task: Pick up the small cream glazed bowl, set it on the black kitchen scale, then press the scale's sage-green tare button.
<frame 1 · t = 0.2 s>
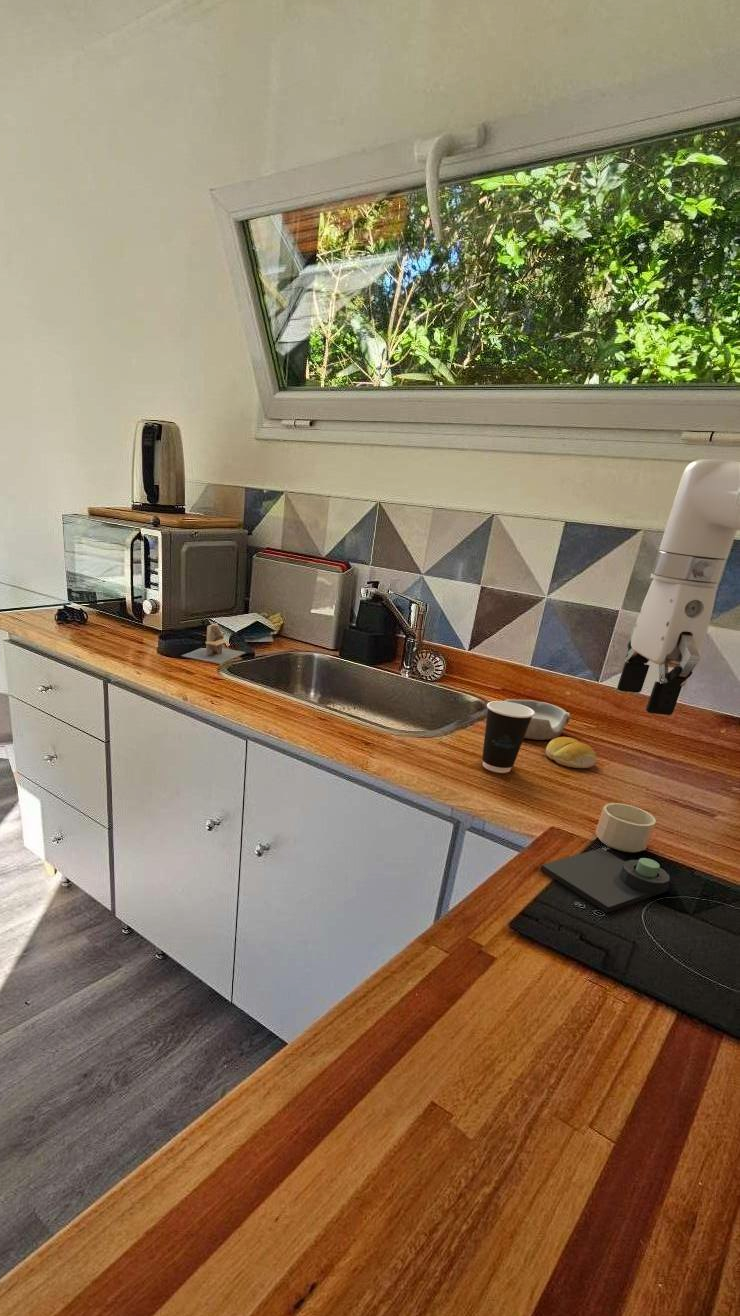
hand: (642, 701, 90), 20 cm above the worktop, tool pointing down, fingers open, 9 cm apart
bowl: (619, 842, 95), on the worktop
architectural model: (214, 654, 172), on the worktop
tare button: (647, 868, 83), point 3 cm above the worktop, slide at 0.2 cm
bread roll: (568, 761, 124), on the worktop
dish: (525, 731, 138), on the worktop
scale: (602, 881, 85), on the worktop
dixie cup: (496, 768, 118), on the worktop
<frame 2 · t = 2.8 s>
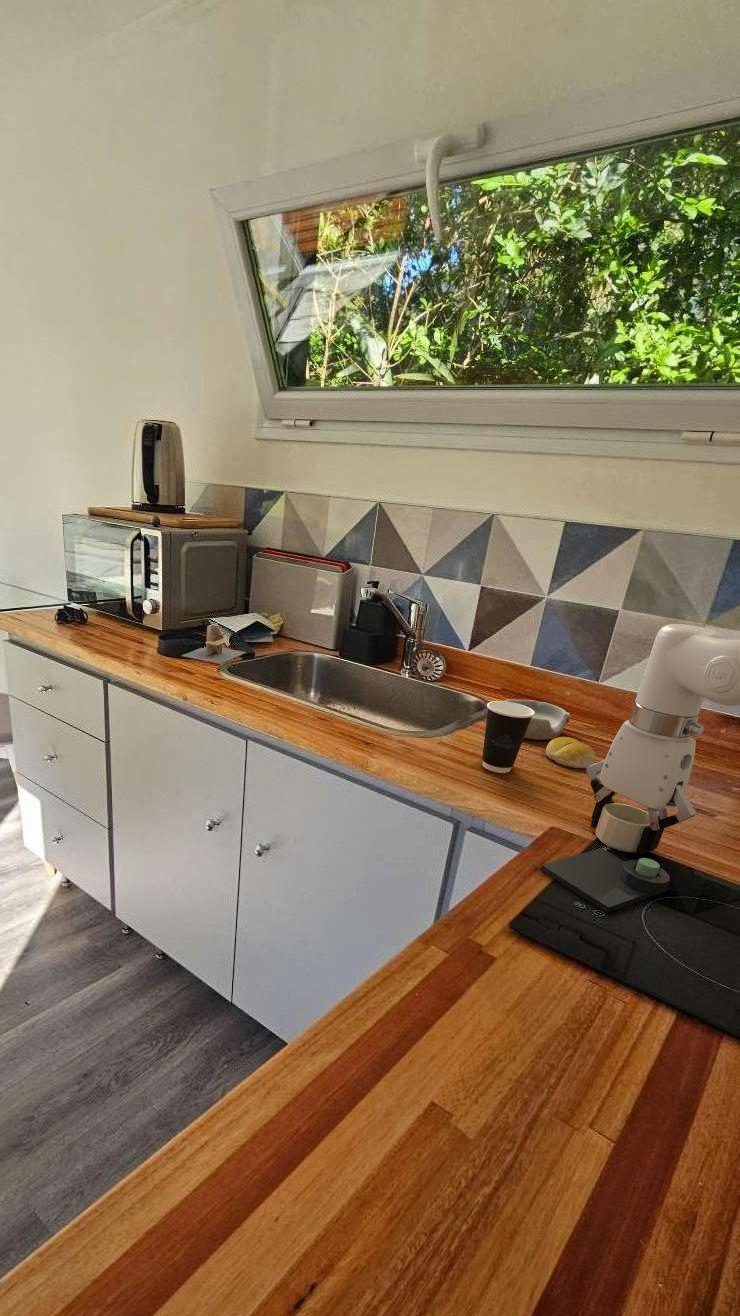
hand: (621, 837, 95), 1 cm above the worktop, tool pointing down, fingers closed on bowl, 6 cm apart
bowl: (619, 842, 95), on the worktop, touching gripper
everything else where it was.
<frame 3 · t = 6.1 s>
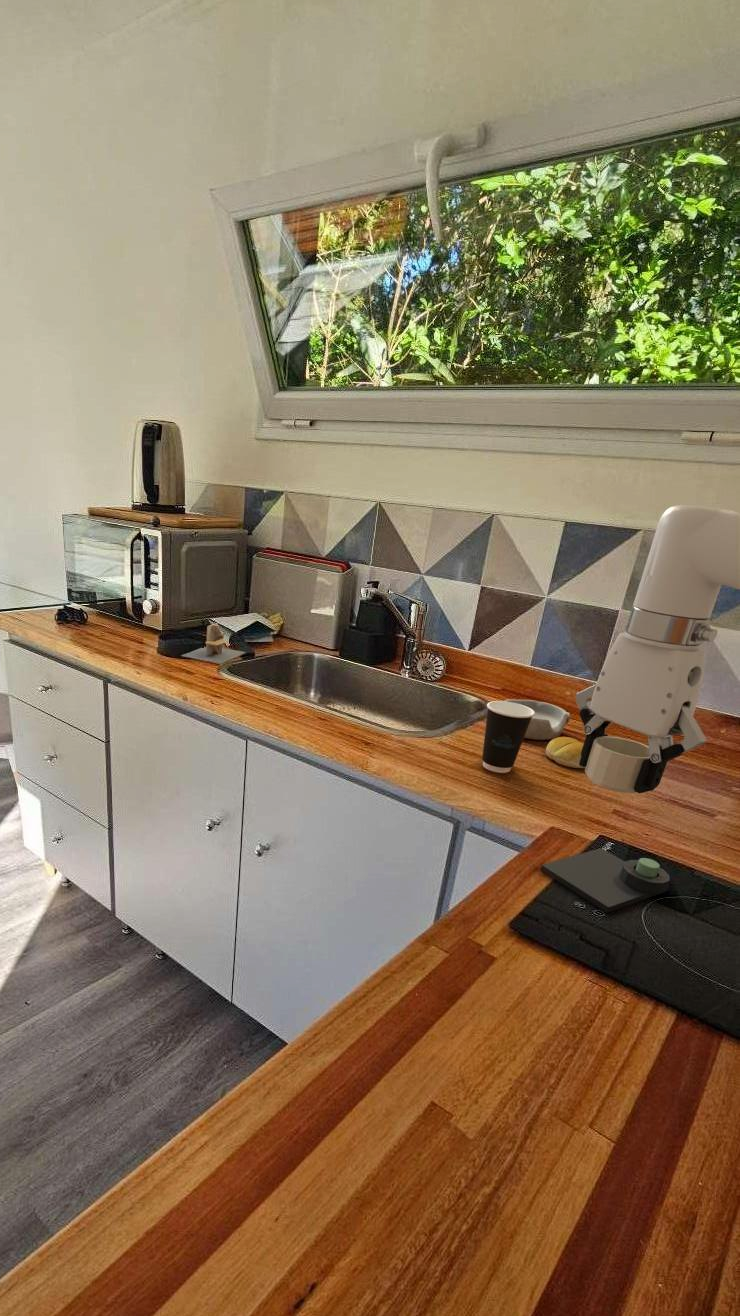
hand: (615, 776, 80), 14 cm above the worktop, tool pointing down, fingers closed on bowl, 6 cm apart
bowl: (613, 782, 80), point 13 cm above the worktop, touching gripper
everything else where it was.
when the fingers open (2 cm above the worktop, at t = 9.6 s): bowl stays where it is, resting on scale.
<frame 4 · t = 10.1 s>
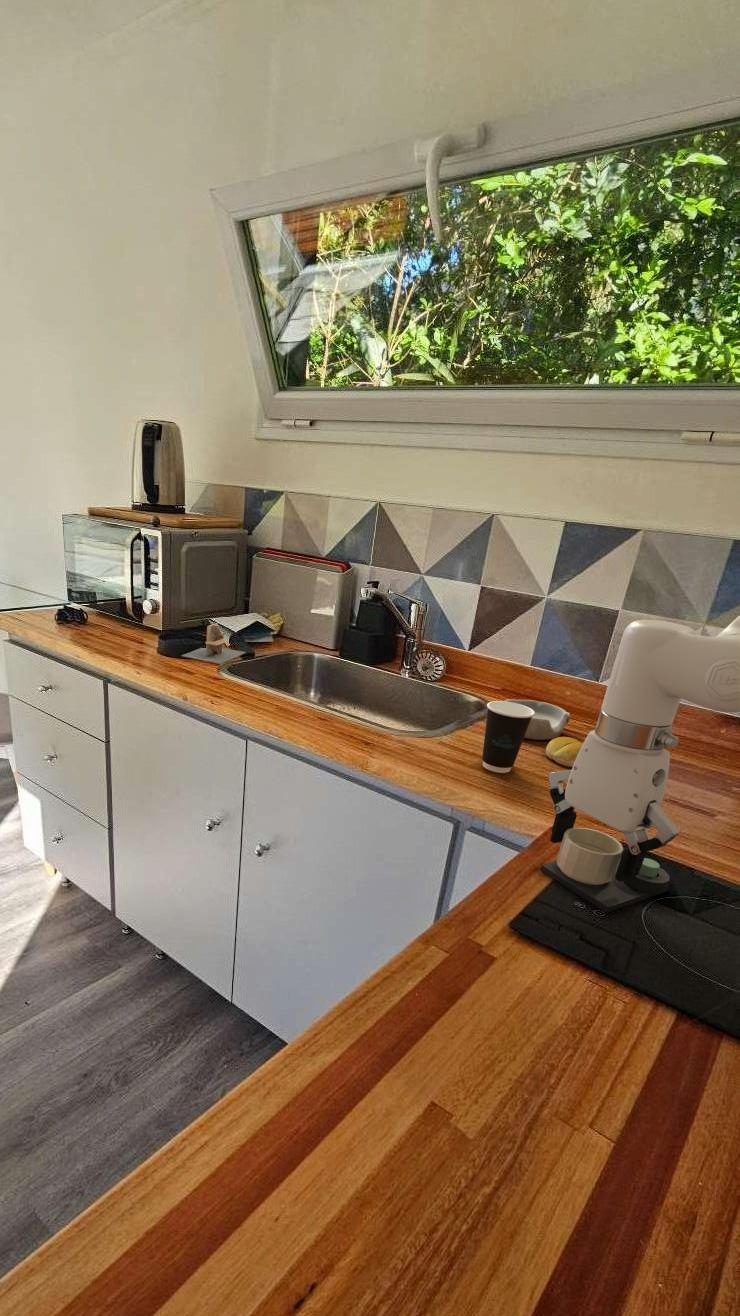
hand: (590, 858, 84), 3 cm above the worktop, tool pointing down, fingers open, 9 cm apart
bowl: (583, 872, 85), point 1 cm above the worktop, touching scale
everything else where it was.
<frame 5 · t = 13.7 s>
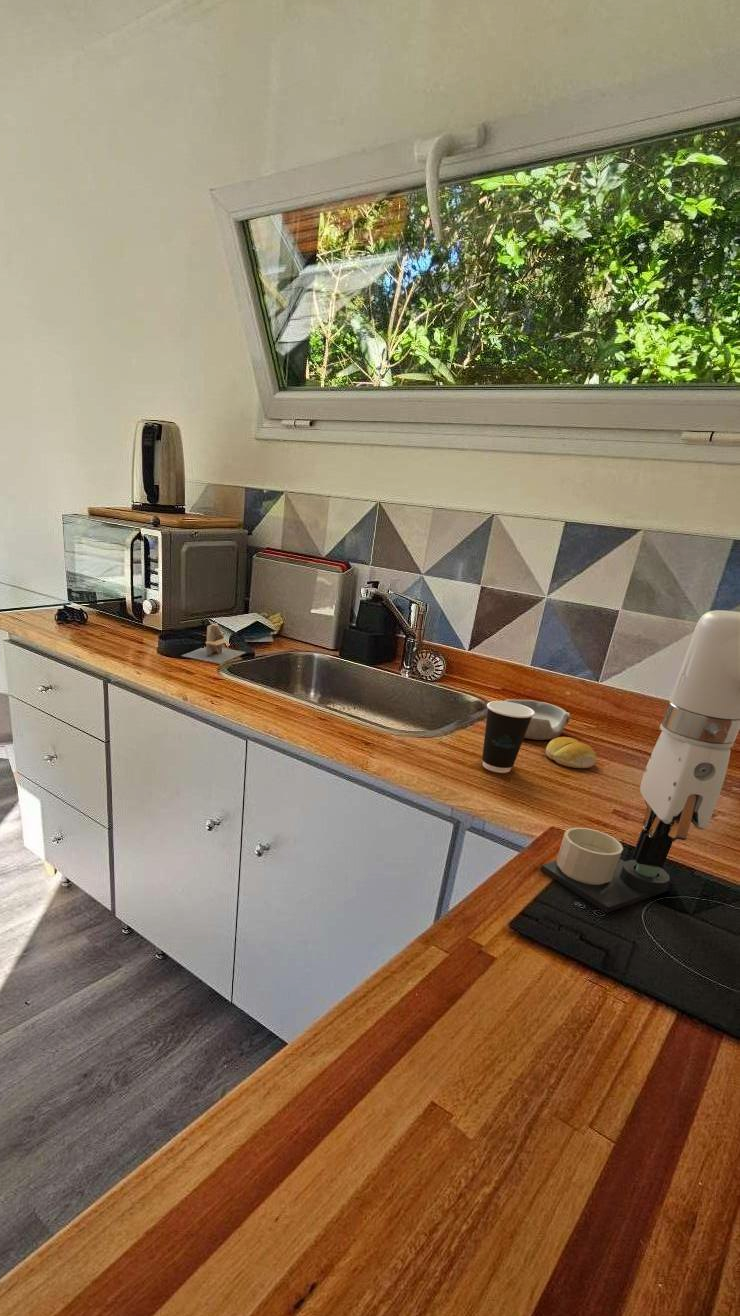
hand: (647, 861, 83), 4 cm above the worktop, tool pointing down, fingers closed
tare button: (647, 868, 83), point 3 cm above the worktop, slide at 0.1 cm, touching gripper
everything else where it was.
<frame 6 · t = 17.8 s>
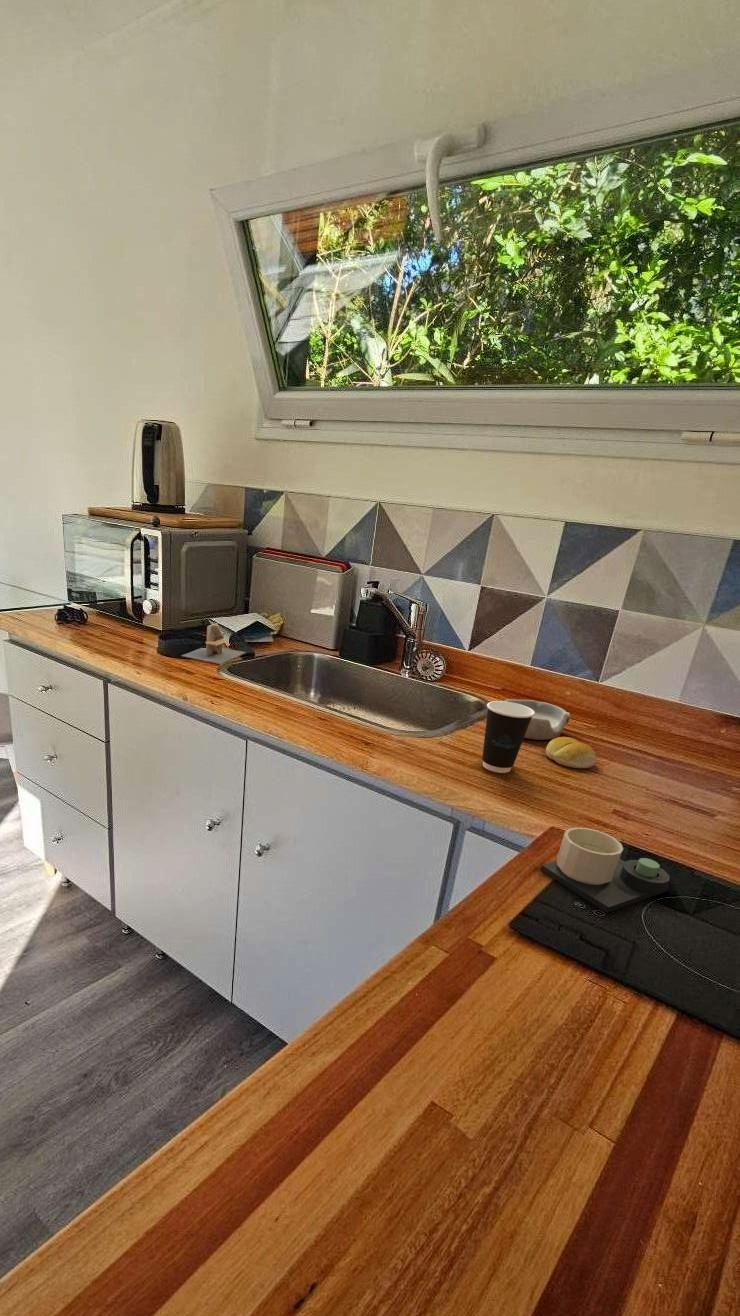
tare button: (647, 868, 83), point 3 cm above the worktop, slide at 0.1 cm
everything else where it was.
at the end: bowl inside the target area on the scale (1.7 cm from its centre), point 0.9 cm above the scale's base; tare button pushed in 0.9 cm at the most during the clip, back to where it started at the end; tare button slide at 0.1 cm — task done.
